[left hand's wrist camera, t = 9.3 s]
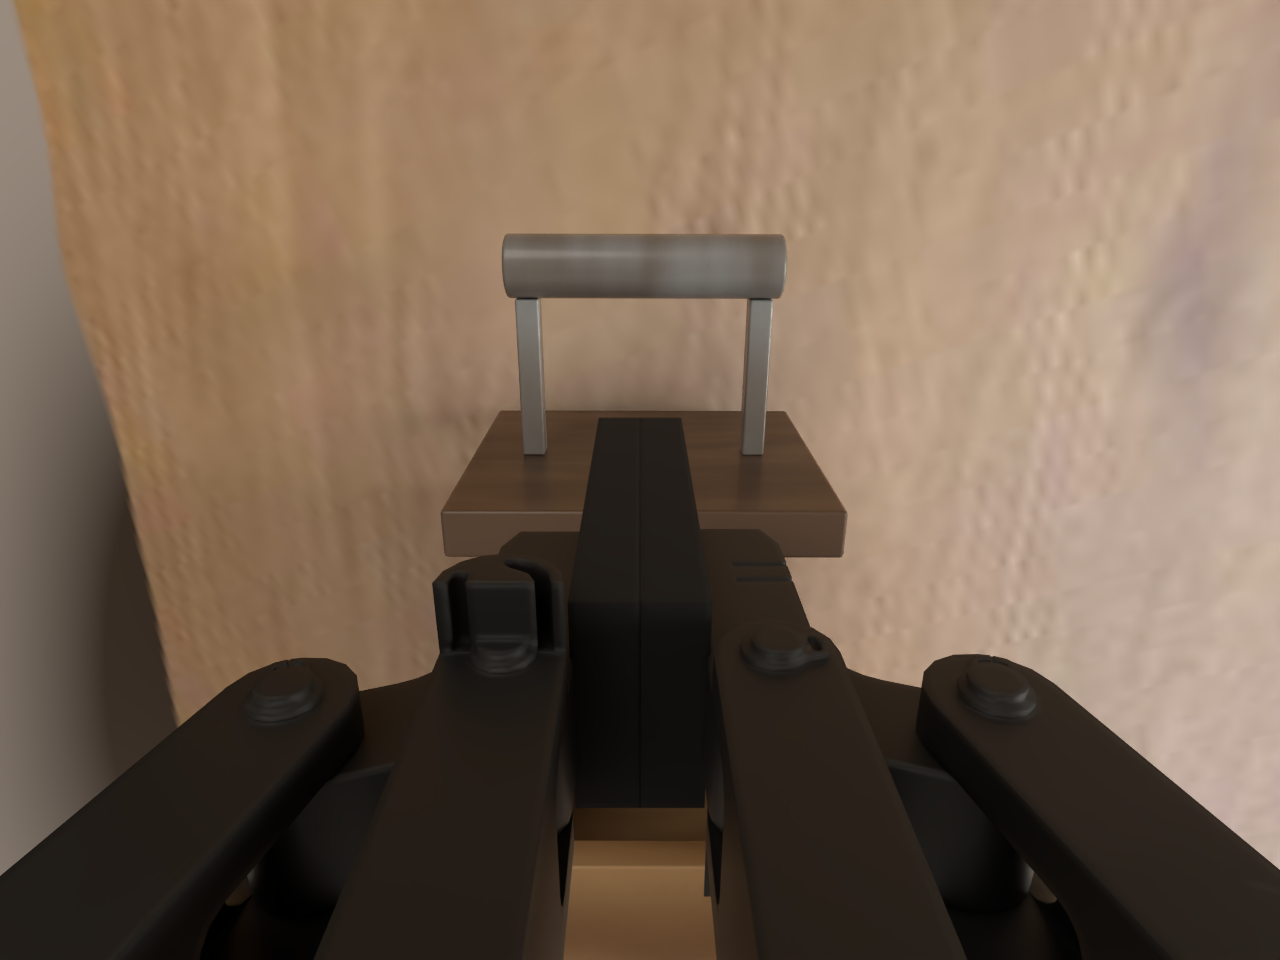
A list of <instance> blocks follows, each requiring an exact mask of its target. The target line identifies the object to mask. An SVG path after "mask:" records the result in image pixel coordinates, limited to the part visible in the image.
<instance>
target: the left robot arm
mask: <svg viewBox="0 0 1280 960" xmlns="http://www.w3.org/2000/svg"><path fill="white" fill-rule="evenodd" d="M432 585H433V595H434V604H435V613H436V622H437V631H438V640H439V649H440V654H439V656H438V659H437V661H436V664H435V666H434V669H433V671H432V672H431V673H429V674H426V675H424V676H422V677H419V678H417V679H413V680H409V681H406V682H402V683H398V684H393V685H388V686H383V687H378V688H373V689H368V690H363V691H359V687H358V681H357V675H356V674H355V673H354V672H353V671H352V670H351V669H350V668H349V667H348V666H347V665H346V664H343V663H340V662H336V661H333V660H330V659H327V658H297V659H291V660H284V661H280V662H275V663H273V664H271V665H268V666H266V667H263V668H261V669H258V670H255V671H253V672H250V673H248V674H247V675H245V676H244V677H242V678H240V679H239V680H237V681H236V682H234V683H233V684H231V685H229V686H228V687H226V688H225V689H224V690H223V691H222V692H220V693H219V694H218V695H217V696H216V697H214V698H213V699H212V700H211V701H210V702H208V703H207V704H206V705H205V706H204V707H202V708H201V709H200V710H199V711H198V712H196V713H195V714H194V715H193V716H192V717H190V718H189V719H188V720H187V721H186V722H184V723H183V724H182V725H181V726H180V727H178V728H177V729H176V730H175V731H174V732H172V733H171V734H170V735H169V736H168V737H166V738H165V739H164V740H163V741H162V742H160V743H159V744H158V745H157V746H156V747H154V748H153V749H152V750H151V751H150V752H149V753H147V754H146V755H145V756H144V757H143V758H141V759H140V760H139V761H138V762H136V763H135V764H134V765H133V766H132V767H131V768H129V769H128V770H127V771H126V772H125V773H123V774H122V775H121V776H120V777H118V778H117V779H116V780H115V781H114V782H113V783H111V784H110V785H109V786H108V787H107V788H105V789H104V790H103V791H102V792H100V793H99V794H98V795H97V796H96V797H94V798H93V799H92V800H91V801H90V802H89V803H87V804H86V805H85V806H84V807H83V808H81V809H80V810H79V811H78V812H77V813H75V814H74V815H73V816H72V817H71V818H69V819H68V820H67V821H66V822H65V823H63V824H62V825H61V826H60V827H59V828H57V829H56V830H55V831H54V832H53V833H51V834H50V835H49V836H48V837H47V838H45V839H44V840H43V841H42V842H41V843H39V844H38V845H37V846H36V847H35V848H33V849H32V850H31V851H30V852H29V853H27V854H26V855H25V856H24V857H23V858H21V859H20V860H19V861H18V862H17V863H15V864H14V865H13V866H12V867H11V868H9V869H8V870H7V871H6V872H5V873H3V874H2V875H1V876H0V960H563V958H564V948H565V937H566V927H567V916H568V906H569V895H570V884H571V874H572V863H573V853H574V828H573V803H574V793H575V808H705V789H706V799H707V828H706V853H705V877H704V897H711V904H712V915H713V926H714V936H715V947H716V957H717V960H1280V870H1279V869H1278V868H1277V867H1276V866H1274V865H1273V864H1272V863H1271V862H1270V861H1268V860H1267V859H1266V858H1265V857H1263V856H1262V855H1261V854H1260V853H1259V852H1257V851H1256V850H1255V849H1254V848H1253V847H1251V846H1250V845H1249V844H1248V843H1247V842H1245V841H1244V840H1243V839H1242V838H1241V837H1239V836H1238V835H1237V834H1236V833H1234V832H1233V831H1232V830H1231V829H1230V828H1228V827H1227V826H1226V825H1225V824H1224V823H1222V822H1221V821H1220V820H1219V819H1218V818H1216V817H1215V816H1214V815H1213V814H1211V813H1210V812H1209V811H1208V810H1207V809H1205V808H1204V807H1203V806H1202V805H1201V804H1199V803H1198V802H1197V801H1196V800H1195V799H1193V798H1192V797H1191V796H1190V795H1188V794H1187V793H1186V792H1185V791H1184V790H1182V789H1181V788H1180V787H1179V786H1178V785H1176V784H1175V783H1174V782H1173V781H1172V780H1170V779H1169V778H1168V777H1167V776H1165V775H1164V774H1163V773H1162V772H1161V771H1159V770H1158V769H1157V768H1156V767H1155V766H1153V765H1152V764H1151V763H1150V762H1149V761H1147V760H1146V759H1145V758H1144V757H1142V756H1141V755H1140V754H1139V753H1138V752H1136V751H1135V750H1134V749H1133V748H1132V747H1130V746H1129V745H1128V744H1127V743H1126V742H1124V741H1123V740H1122V739H1121V738H1119V737H1118V736H1117V735H1116V734H1115V733H1113V732H1112V731H1111V730H1110V729H1109V728H1107V727H1106V726H1105V725H1104V724H1103V723H1101V722H1100V721H1099V720H1098V719H1096V718H1095V717H1094V716H1093V715H1092V714H1090V713H1089V712H1088V711H1087V710H1086V709H1084V708H1083V707H1082V706H1081V705H1080V704H1078V703H1077V702H1076V701H1075V700H1073V699H1072V698H1071V697H1070V696H1069V695H1067V694H1066V693H1065V692H1064V691H1063V690H1061V689H1060V688H1059V687H1058V686H1057V685H1055V684H1054V683H1053V682H1051V681H1049V680H1048V679H1046V678H1045V677H1043V676H1042V675H1040V674H1038V673H1037V672H1035V671H1034V670H1032V669H1030V668H1027V667H1025V666H1022V665H1019V664H1017V663H1014V662H1011V661H1009V660H1007V659H1004V658H1000V657H995V656H993V657H991V656H990V655H981V654H966V655H952V656H948V657H945V658H942V659H939V660H936V661H934V662H933V663H932V664H931V665H930V666H929V667H928V668H927V669H926V670H925V671H924V675H923V681H922V687H921V688H919V687H914V686H909V685H904V684H899V683H894V682H889V681H884V680H880V679H876V678H872V677H869V676H865V675H862V674H860V673H857V672H855V671H852V670H850V669H848V668H847V667H846V665H845V663H844V660H843V658H842V655H841V653H840V651H839V650H838V649H837V647H836V646H835V645H834V643H833V642H832V641H831V639H830V638H828V637H826V636H825V635H823V634H822V633H820V632H818V631H817V630H815V629H814V628H811V627H810V625H809V623H808V620H807V617H806V615H805V612H804V609H803V607H802V604H801V601H800V599H799V596H798V593H797V591H796V588H795V585H794V583H793V581H792V577H791V575H790V572H789V569H788V567H787V566H786V561H785V559H784V556H783V553H782V551H781V548H780V545H779V544H778V543H777V542H775V541H774V540H773V539H772V538H770V537H769V536H768V535H766V534H765V533H764V532H763V531H761V530H760V529H700V525H699V519H698V513H697V508H696V502H695V496H694V490H693V484H692V478H691V472H690V466H689V460H688V454H687V448H686V443H685V437H684V431H683V425H682V419H681V418H599V419H598V425H597V431H596V437H595V443H594V448H593V454H592V460H591V466H590V472H589V478H588V484H587V490H586V496H585V502H584V508H583V513H582V519H581V525H580V531H579V532H520V533H518V534H517V535H516V536H514V537H513V538H512V539H511V540H509V541H508V542H507V543H506V544H504V545H503V546H502V547H501V548H500V551H499V554H496V555H485V556H480V557H477V558H473V559H469V560H466V561H462V562H460V563H458V564H456V565H454V566H452V567H450V568H448V569H447V570H445V571H443V572H442V573H441V574H440V575H439V576H438V577H437V579H436V580H435V581H434V582H433V583H432ZM1035 873H1036V874H1035ZM1041 880H1042V881H1041Z"/></svg>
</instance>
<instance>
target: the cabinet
mask: <svg viewBox="0 0 1280 960" xmlns="http://www.w3.org/2000/svg"><path fill="white" fill-rule="evenodd" d="M705 853H706V840H574V853H573V863H572V874H571V884H570V895H569V906H568V916H567V927H566V937H565V948H564V958H563V960H717V957H716V947H715V936H714V926H713V915H712V904H711V897H704V877H705Z"/></svg>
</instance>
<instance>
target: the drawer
mask: <svg viewBox="0 0 1280 960" xmlns="http://www.w3.org/2000/svg"><path fill="white" fill-rule="evenodd" d="M786 271H787V247H786V241H785V238H784V236H783V235H780V234H506V235H505V237H504V240H503V246H502V274H503V282H504V288H505V292H506V294H507V296H508V297H510V298H517V299H516V300H515V310H516V328H517V347H518V365H519V383H520V401H521V411H500V412H499V414H498V415H497V417H496V419H495V421H494V422H493V424H492V426H491V427H490V429H489V431H488V432H487V434H486V436H485V438H484V439H483V441H482V443H481V444H480V446H479V448H478V450H477V451H476V453H475V455H474V456H473V458H472V460H471V461H470V463H469V465H468V467H467V468H466V470H465V472H464V473H463V475H462V477H461V478H460V480H459V482H458V484H457V485H456V487H455V489H454V490H453V492H452V494H451V495H450V497H449V499H448V501H447V502H446V504H445V506H444V507H443V509H442V511H441V522H442V533H443V543H444V553H445V555H446V556H455V557H480V556H485V555H496V554H499V551H500V548H501V547H502V546H503V545H504V544H506V543H507V542H508V541H509V540H511V539H512V538H513V537H514V536H516V535H517V534H518V533H520V532H579V531H580V525H581V519H582V513H583V508H584V502H585V496H586V490H587V484H588V478H589V472H590V466H591V460H592V454H593V448H594V443H595V437H596V431H597V425H598V419H599V418H681V419H682V425H683V431H684V437H685V443H686V448H687V454H688V460H689V466H690V472H691V478H692V484H693V490H694V496H695V502H696V508H697V513H698V519H699V525H700V529H760V530H761V531H763V532H764V533H765V534H766V535H768V536H769V537H770V538H772V539H773V540H774V541H775V542H777V543H778V544H779V545H780V548H781V551H782V553H783V556H784V557H842V555H843V552H844V543H845V533H846V524H847V515H848V514H847V511H846V510H845V508H844V507H843V505H842V503H841V502H840V500H839V498H838V497H837V495H836V493H835V492H834V490H833V489H832V487H831V485H830V484H829V482H828V480H827V479H826V477H825V475H824V474H823V472H822V471H821V469H820V467H819V466H818V464H817V462H816V461H815V459H814V457H813V456H812V454H811V453H810V451H809V449H808V448H807V446H806V444H805V443H804V441H803V440H802V438H801V436H800V435H799V433H798V431H797V430H796V428H795V426H794V425H793V423H792V422H791V420H790V418H789V417H788V415H787V413H786V412H784V411H766V406H767V391H768V375H769V359H770V344H771V328H772V313H773V301H772V300H771V299H778V298H780V297H781V296H782V293H783V291H784V287H785V281H786ZM541 298H670V299H747V316H746V335H745V354H744V374H743V393H742V411H546V409H545V386H544V363H543V339H542V316H541ZM573 828H574V840H706V828H707V799H706V789H705V808H575V793H574V803H573Z"/></svg>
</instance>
